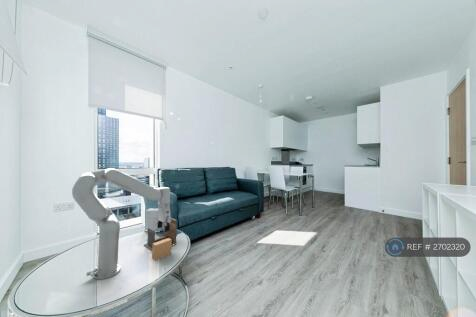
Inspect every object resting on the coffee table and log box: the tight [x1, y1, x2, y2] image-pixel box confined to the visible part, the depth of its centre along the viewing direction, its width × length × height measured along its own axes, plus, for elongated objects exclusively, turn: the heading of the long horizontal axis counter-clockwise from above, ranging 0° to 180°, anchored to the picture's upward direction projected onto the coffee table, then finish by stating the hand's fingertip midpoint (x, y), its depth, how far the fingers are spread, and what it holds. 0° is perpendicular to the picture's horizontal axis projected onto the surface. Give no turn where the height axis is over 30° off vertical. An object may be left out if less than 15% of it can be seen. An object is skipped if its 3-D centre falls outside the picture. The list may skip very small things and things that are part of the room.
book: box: [151, 238, 172, 261], centre depth 123 cm, size 12×4×10 cm, turn 142°
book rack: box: [143, 217, 178, 252], centre depth 139 cm, size 18×16×19 cm
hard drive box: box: [144, 207, 164, 231], centre depth 166 cm, size 16×8×20 cm, turn 84°
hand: (163, 229), depth 124 cm, fingers open, 9 cm apart
